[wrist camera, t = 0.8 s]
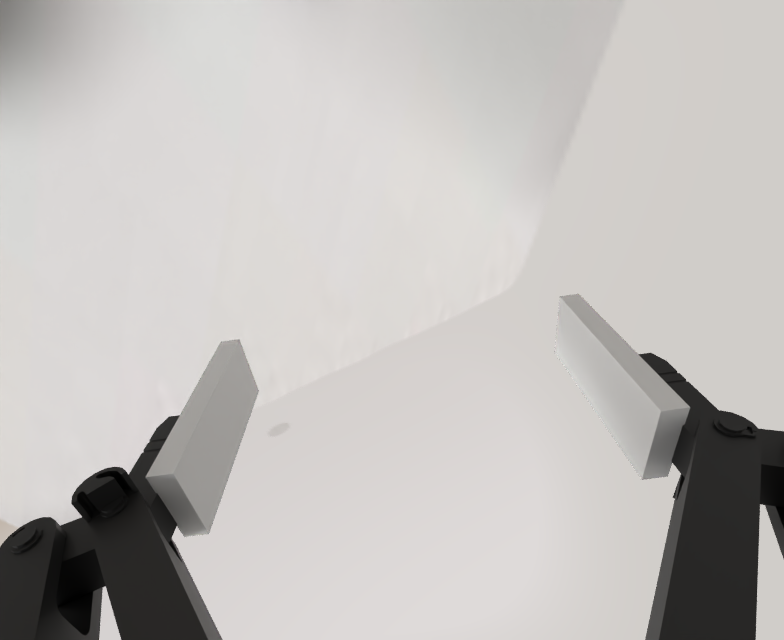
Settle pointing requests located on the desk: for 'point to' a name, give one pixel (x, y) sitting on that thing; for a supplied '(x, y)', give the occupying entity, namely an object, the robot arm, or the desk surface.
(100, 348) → the desk surface
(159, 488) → the robot arm
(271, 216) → the desk surface
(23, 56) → the desk surface
